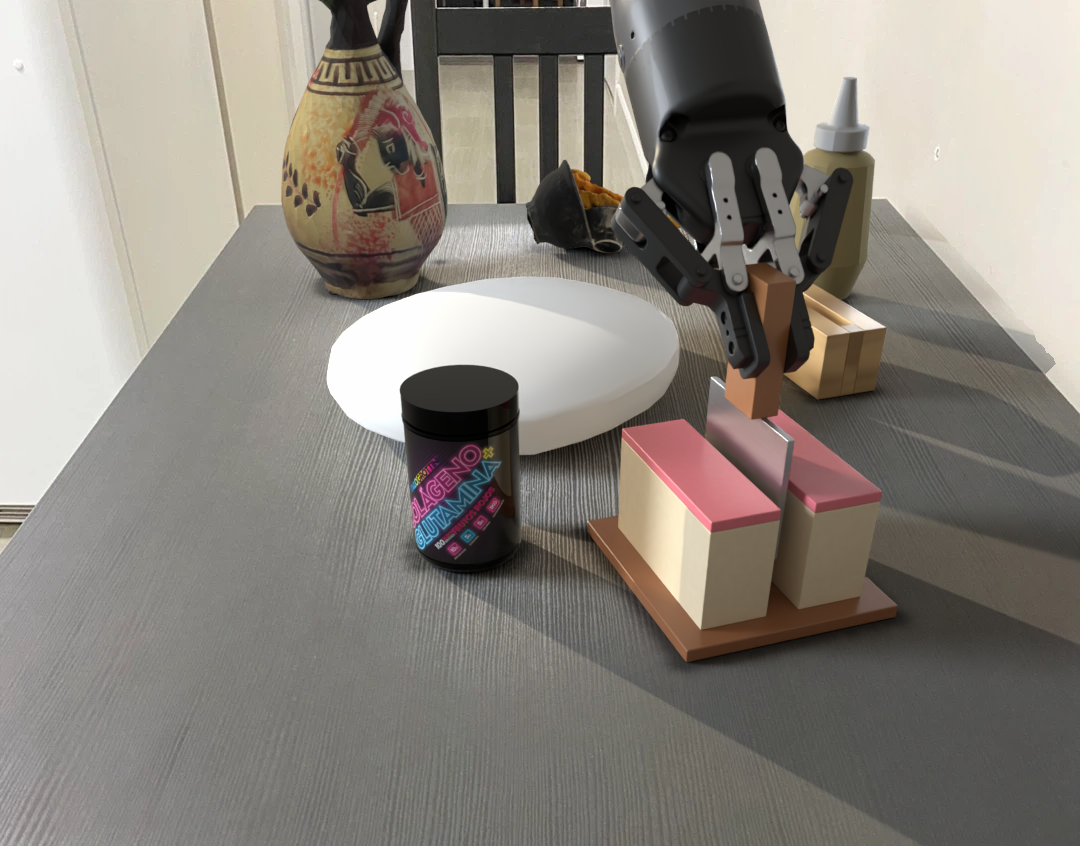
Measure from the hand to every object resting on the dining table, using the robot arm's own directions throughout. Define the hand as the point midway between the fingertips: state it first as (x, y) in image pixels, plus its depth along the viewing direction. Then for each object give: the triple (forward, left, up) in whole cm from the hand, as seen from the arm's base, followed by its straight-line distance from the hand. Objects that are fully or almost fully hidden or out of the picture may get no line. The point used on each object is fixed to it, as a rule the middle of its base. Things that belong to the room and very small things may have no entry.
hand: (776, 368), depth 55 cm
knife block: (+3, -36, -13) cm, 38 cm away
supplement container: (+17, +1, -13) cm, 22 cm away
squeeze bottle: (+5, -54, -13) cm, 56 cm away
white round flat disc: (+24, -22, -13) cm, 35 cm away
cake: (+1, -2, -13) cm, 13 cm away
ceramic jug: (+46, -43, -13) cm, 64 cm away
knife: (+1, -2, -10) cm, 10 cm away
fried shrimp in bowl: (+28, -61, -13) cm, 68 cm away
